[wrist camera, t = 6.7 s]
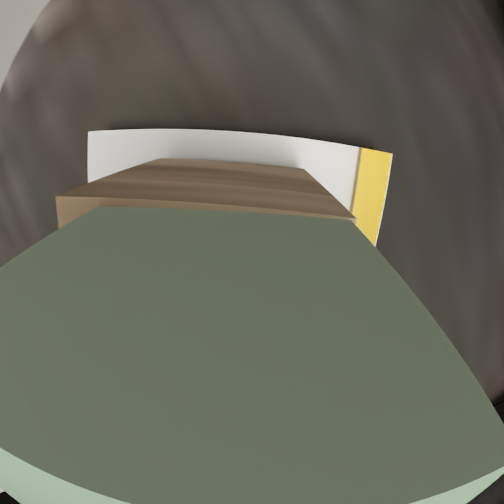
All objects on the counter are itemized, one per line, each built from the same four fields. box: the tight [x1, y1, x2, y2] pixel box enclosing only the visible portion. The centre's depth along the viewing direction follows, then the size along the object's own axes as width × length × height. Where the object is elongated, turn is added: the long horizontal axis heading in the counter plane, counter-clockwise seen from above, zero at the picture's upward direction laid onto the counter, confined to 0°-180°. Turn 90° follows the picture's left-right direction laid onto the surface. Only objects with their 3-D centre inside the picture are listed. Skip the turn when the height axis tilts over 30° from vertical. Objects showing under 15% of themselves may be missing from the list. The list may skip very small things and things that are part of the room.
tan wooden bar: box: [56, 158, 357, 229], centre depth 11 cm, size 18×5×6 cm, turn 175°
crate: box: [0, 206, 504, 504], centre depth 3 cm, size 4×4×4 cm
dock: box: [88, 129, 393, 247], centre depth 15 cm, size 20×12×2 cm, turn 175°
